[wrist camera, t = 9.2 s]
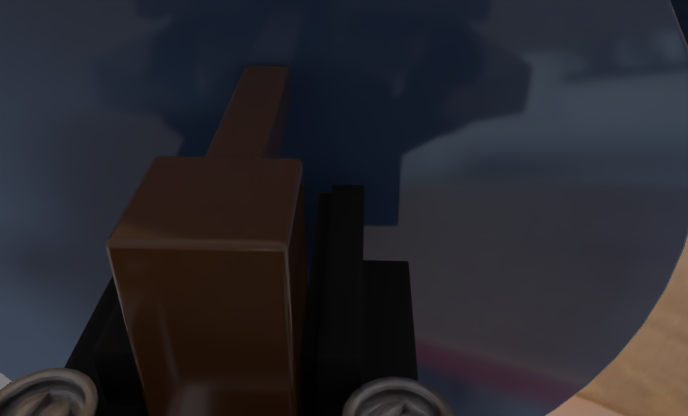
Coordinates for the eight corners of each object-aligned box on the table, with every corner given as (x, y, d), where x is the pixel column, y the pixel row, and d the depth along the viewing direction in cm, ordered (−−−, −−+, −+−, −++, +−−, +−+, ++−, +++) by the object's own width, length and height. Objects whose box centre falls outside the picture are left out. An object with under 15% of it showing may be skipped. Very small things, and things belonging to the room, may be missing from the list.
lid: (809, -249, 9) (1452, -298, 3) (583, 448, 17) (677, 739, 11) (-266, -248, 9) (-1095, -293, 4) (22, 432, 17) (-125, 708, 12)
